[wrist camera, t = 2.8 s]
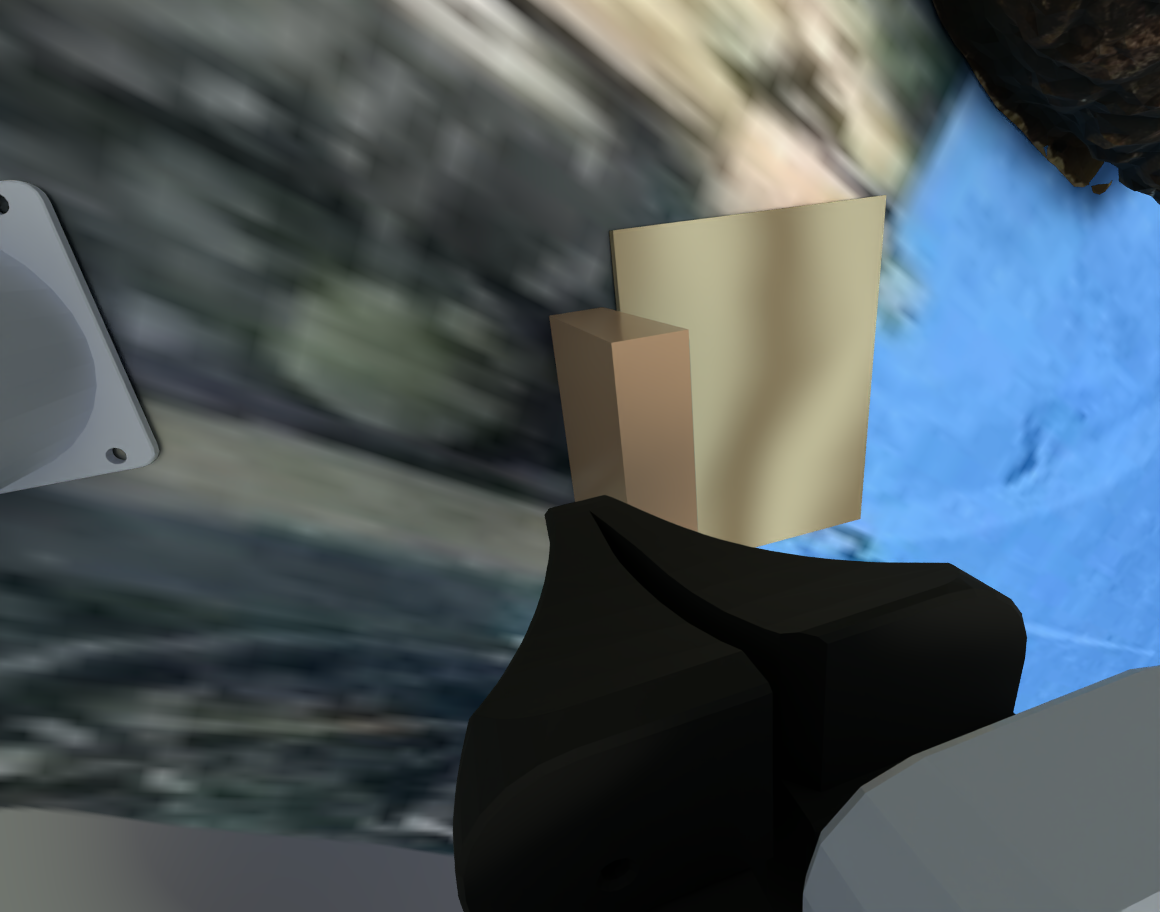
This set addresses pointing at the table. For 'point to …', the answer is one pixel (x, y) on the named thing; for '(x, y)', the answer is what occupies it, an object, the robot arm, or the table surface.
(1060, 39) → the pine cone
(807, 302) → the board
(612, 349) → the block
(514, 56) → the table surface
